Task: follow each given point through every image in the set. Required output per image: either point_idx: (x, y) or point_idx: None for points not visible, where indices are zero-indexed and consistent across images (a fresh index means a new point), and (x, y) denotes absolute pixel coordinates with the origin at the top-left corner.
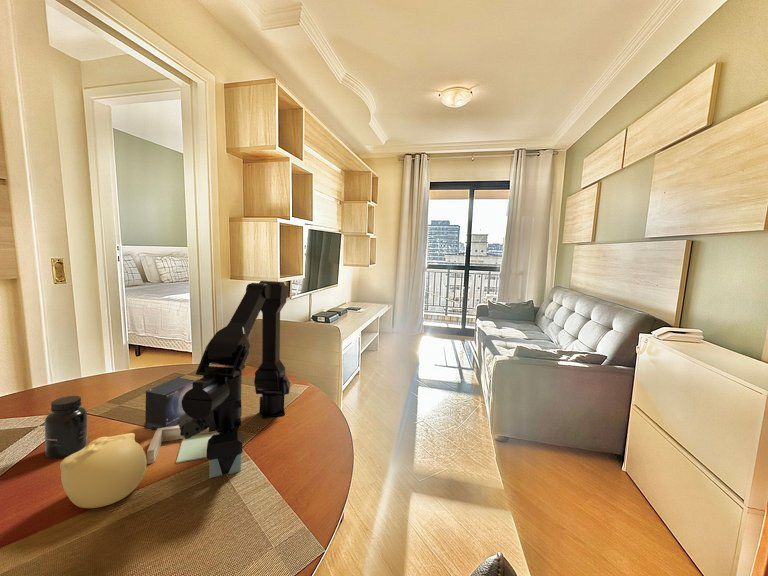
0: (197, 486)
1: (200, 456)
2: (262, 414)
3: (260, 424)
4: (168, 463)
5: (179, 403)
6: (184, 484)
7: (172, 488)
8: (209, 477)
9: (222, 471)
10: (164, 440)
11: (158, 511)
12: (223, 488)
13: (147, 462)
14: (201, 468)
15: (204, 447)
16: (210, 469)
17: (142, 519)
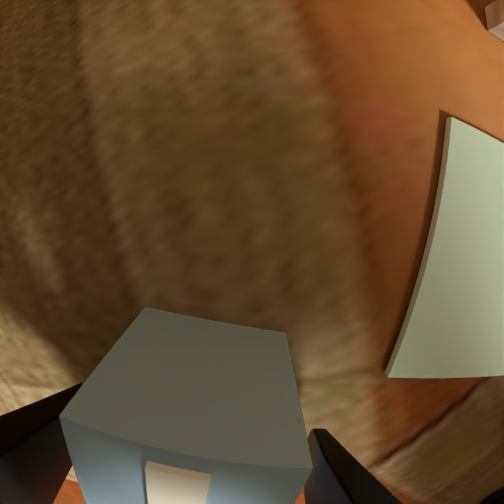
0: (89, 226)
1: (436, 278)
2: (502, 496)
3: (465, 498)
4: (462, 82)
5: None
6: (150, 144)
7: (150, 74)
8: (144, 308)
9: (58, 396)
10: None
11: (17, 49)
12: (35, 348)
13: (488, 5)
14: (294, 271)
15: (501, 306)
16: (120, 341)
17: (18, 6)
